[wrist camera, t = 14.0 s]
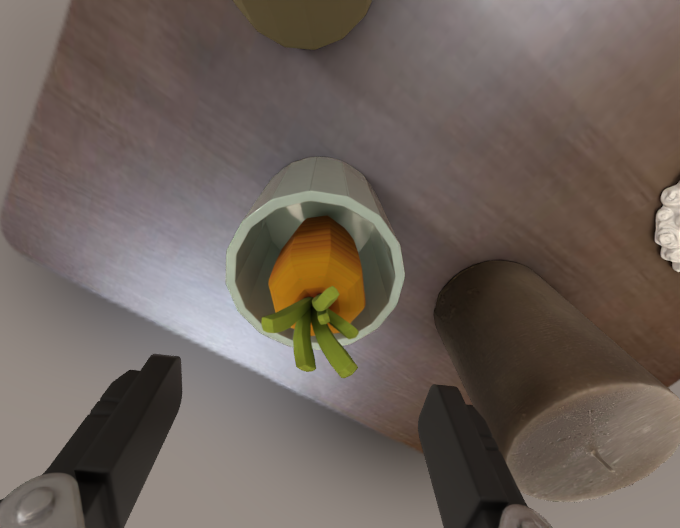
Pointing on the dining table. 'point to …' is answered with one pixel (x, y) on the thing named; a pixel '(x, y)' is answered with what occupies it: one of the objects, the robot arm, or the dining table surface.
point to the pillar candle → (553, 386)
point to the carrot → (317, 292)
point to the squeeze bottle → (304, 20)
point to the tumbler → (283, 220)
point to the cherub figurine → (669, 226)
